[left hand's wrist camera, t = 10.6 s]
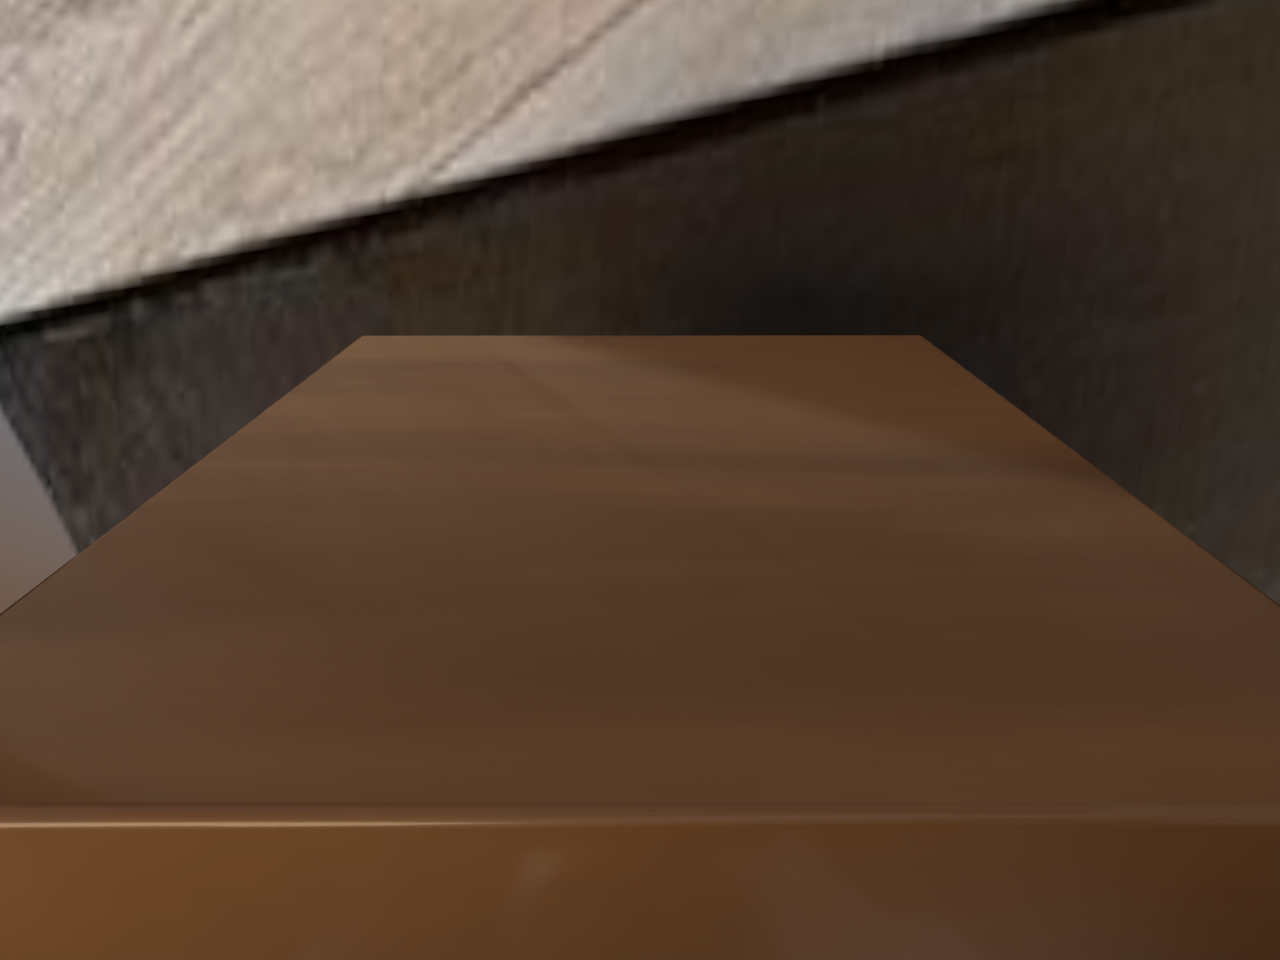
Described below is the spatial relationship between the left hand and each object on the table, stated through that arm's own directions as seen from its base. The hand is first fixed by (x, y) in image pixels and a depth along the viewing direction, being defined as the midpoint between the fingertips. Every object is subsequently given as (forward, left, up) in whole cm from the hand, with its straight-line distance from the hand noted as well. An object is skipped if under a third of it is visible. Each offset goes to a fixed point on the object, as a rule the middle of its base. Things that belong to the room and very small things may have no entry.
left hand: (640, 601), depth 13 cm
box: (+7, +2, -2) cm, 7 cm away
